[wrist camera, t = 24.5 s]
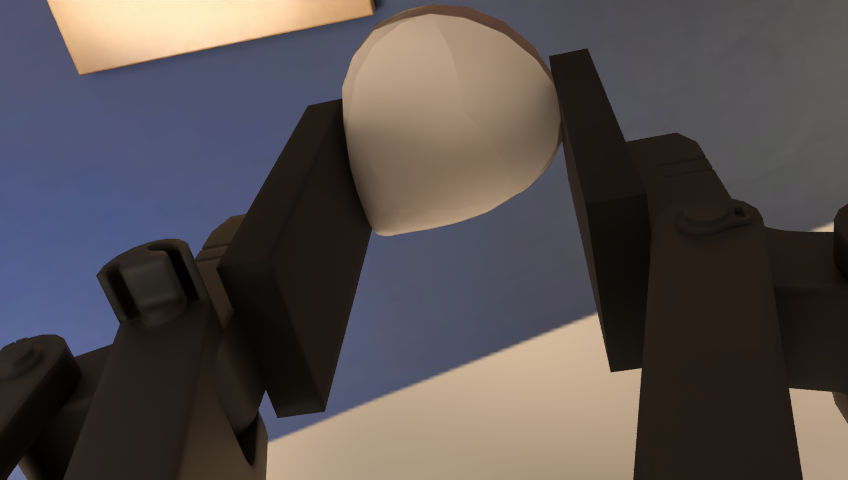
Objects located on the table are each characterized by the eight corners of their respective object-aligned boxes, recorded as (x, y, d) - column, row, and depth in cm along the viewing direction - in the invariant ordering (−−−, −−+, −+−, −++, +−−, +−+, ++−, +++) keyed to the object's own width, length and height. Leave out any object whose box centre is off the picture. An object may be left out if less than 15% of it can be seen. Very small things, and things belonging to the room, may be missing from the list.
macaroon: (594, 65, 16) (612, 109, 14) (467, 250, 18) (464, 312, 16) (406, -47, 15) (393, -20, 13) (297, 161, 17) (270, 214, 15)
